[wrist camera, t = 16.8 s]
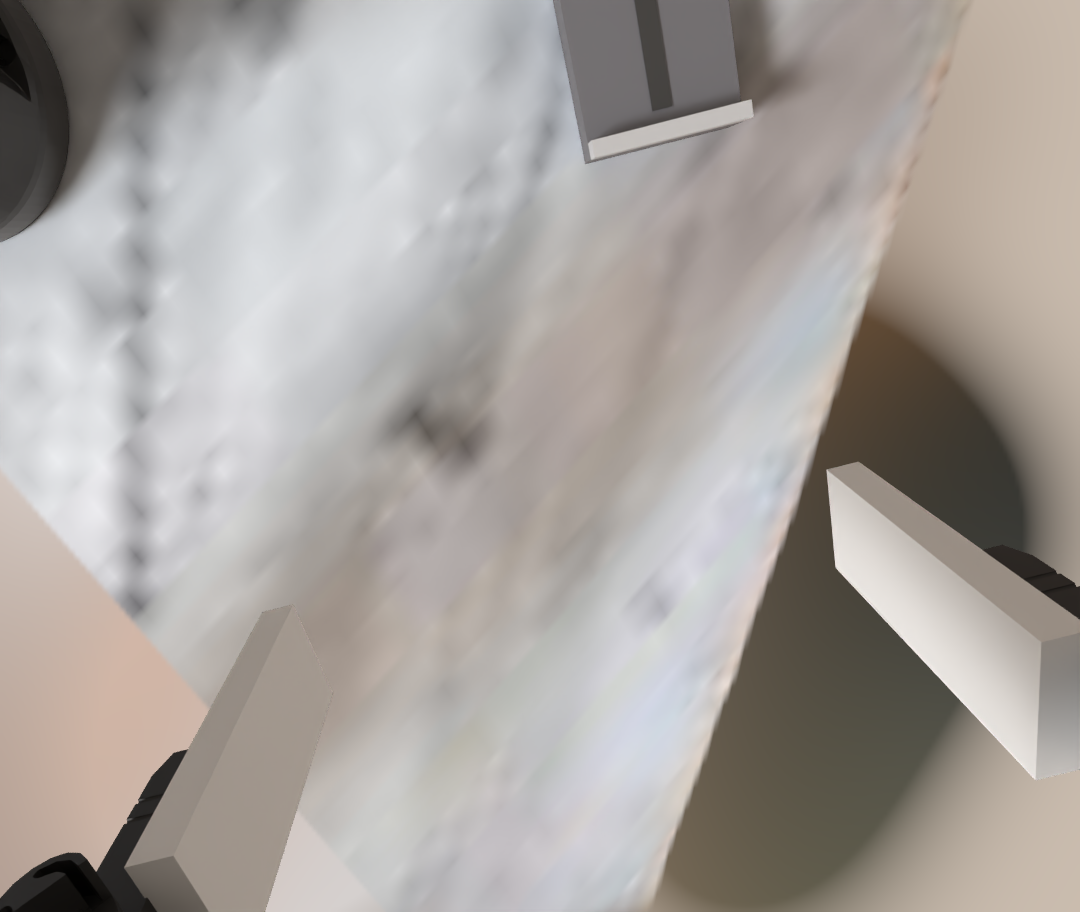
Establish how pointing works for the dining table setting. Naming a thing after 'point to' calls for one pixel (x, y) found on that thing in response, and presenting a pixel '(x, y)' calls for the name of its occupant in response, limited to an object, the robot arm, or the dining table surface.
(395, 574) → the dining table surface
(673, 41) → the fader console
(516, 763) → the dining table surface
